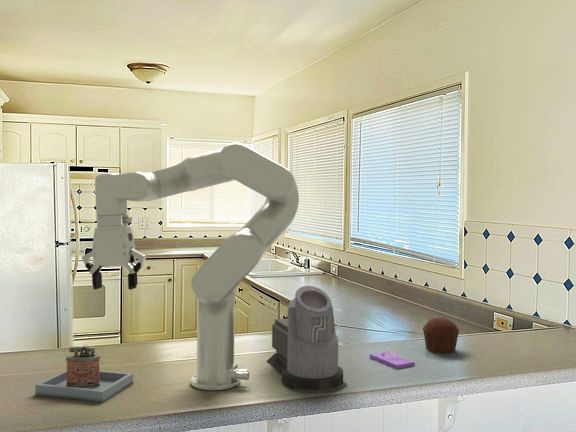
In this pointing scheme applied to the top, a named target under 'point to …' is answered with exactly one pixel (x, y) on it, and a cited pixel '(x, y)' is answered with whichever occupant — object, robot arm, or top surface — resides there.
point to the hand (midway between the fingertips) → (115, 288)
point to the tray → (108, 388)
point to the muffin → (440, 335)
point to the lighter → (83, 367)
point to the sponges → (392, 360)
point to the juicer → (308, 344)
